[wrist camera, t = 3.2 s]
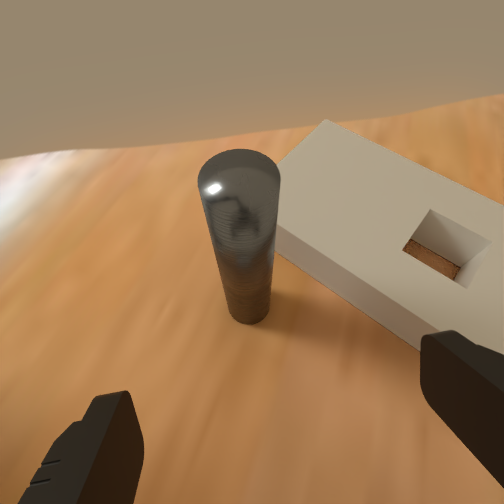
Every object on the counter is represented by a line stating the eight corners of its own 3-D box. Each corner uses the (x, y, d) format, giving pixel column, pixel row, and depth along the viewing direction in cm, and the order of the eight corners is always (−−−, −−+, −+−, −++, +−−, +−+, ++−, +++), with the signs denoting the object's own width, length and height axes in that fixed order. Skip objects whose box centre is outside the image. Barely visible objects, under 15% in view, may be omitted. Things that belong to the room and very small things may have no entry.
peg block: (242, 228, 28) (239, 199, 24) (318, 152, 32) (325, 118, 29) (466, 383, 21) (507, 374, 18) (523, 261, 26) (565, 235, 22)
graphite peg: (219, 306, 24) (180, 183, 12) (246, 277, 25) (235, 137, 13) (251, 333, 23) (243, 226, 11) (277, 301, 24) (297, 173, 12)
